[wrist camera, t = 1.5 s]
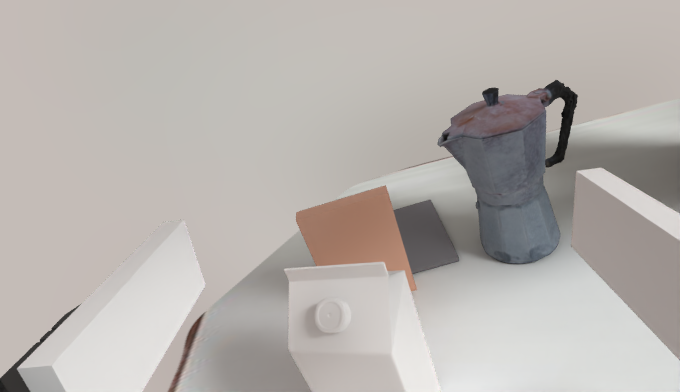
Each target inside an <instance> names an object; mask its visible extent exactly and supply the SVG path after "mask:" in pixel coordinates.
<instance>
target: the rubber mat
mask: <svg viewBox="0 0 680 392" xmlns="http://www.w3.org/2000/svg"><path fill="white" fill-rule="evenodd" d="M393 211H394V215H395V218H396V221H397V225H398V228H399V231H400V235H401V238H402V242H403V245H404V248H405V252H406V255H407V258H408V262H409V265H410V268H411V272H412V274H413V273H417V272H421V271H424V270H428V269H431V268H435V267H439V266H442V265H446V264H450V263H453V262H457V261H459V258H458V255H457V253H456V251H455V249H454V247H453V245H452V243H451V241H450V239H449V237H448V235H447V233H446V231H445V229H444V227H443V225H442V222H441V220H440V218H439V216H438V214H437V212H436V210H435V208H434V206H433V204H432V202H431V200H427V201H424V202H420V203H417V204H413V205H410V206H407V207H403V208H400V209H396V210H393Z"/></svg>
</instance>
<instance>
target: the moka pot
mask: <svg viewBox="0 0 680 392" xmlns="http://www.w3.org/2000/svg"><path fill="white" fill-rule="evenodd" d="M482 95H483V97H484V99H485V100H484V101H480V102H476V103H473V104H471V105H470V106H468V107H467V108H466V109H464V110H463V111H461V112H460V113H458V114H457V115H455V116H454V117H452V118H451V126H450V127H449V128H448V129H447V130H445V131H444V132H443V133H442V136H441V137H440V138H439V140H438V145H439V146H440V147H441V146H444V147H445V148H446V149H447V150H448V151H449V152H450V153H451V154H452V155H453V156H454V158H455V159H456V160H457V161H458V162H459V163H460V164H461V165H462V166H463V167H464V168H465V169H466V171H467V174H468V176H469V179H470V181H471V183H472V186H473V187H474V188H475V190H476V194H477V202H476V208H477V209H478V213H479V225H480V237H481V241H482V245H483V247H484V250H485V251H486V253H487V254H488V255H490V256H491V257H493V258H495V259H497V260H500V261H502V262H506V263H529V262H533V261H537V260H539V259H541V258H543V257H545V256H547V255H549V254H550V253H551V252H552V251H553V250H554V249H555V248H556V247H557V245H558V242H559V239H560V231H559V228H558V225H557V222H556V219H555V216H554V213H553V210H552V207H551V204H550V200H549V198H548V195H547V192H546V189H545V187H544V185H543V174H544V173H545V165H546V167H551V166H553V165H554V164H557V163H559V162H562V160H564V155H565V151H566V148H567V144H568V138H569V135H570V130H571V125H572V121H573V114H574V110H575V108H576V104H577V97H578V96H577V94H575V93H574V92H573V91H571V90H570V88H569V87H565V86H564V84H563V83H560V82H559V81H558V80H555V81H554V82H552V83H551V84H549V85H547V86H546V87H545V88H544V89H537V90H534V91H532V92H530V93H529V94H528V95H509V94H507V95H503V96H499V97H498V88H489V89H487V90H485V91H483V93H482ZM559 97H561V98H562V99H563V100H564V101H565V107H564V109H563V112H562V113H561V114H562V117H563V118H562V123H561V130H560V136H559V142H558V147H557V150H556V152H555V154H554V155H553V156H552V157H551V158H548V159H546V160H545V144H546V110H545V107H547V106H549V105H550V104H551V103H552V102H553V101H554V100H555V99H557V98H559Z"/></svg>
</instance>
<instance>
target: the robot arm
mask: <svg viewBox="0 0 680 392" xmlns="http://www.w3.org/2000/svg"><path fill="white" fill-rule="evenodd" d="M571 247H572V248H573V249H574V250H575V251H576V252H577V253H578V254H579V255H580V256H581V257H582V258H583V259H584V260H585V261H586V262H587V264H588V265H589V266H590V267H591V268H592V269H593V270H594V271H595V272H596V273H597V274H598V275H599V276H600V277H601V278H602V279H603V280H604V281H605V282H606V283H607V285H608V286H609V287H610V288H611V289H612V290H613V291H614V292H615V293H616V294H617V295H618V296H619V297H620V298H621V299H622V300H623V301H624V302H625V303H626V304H627V305H628V307H629V308H630V309H631V310H632V311H633V312H634V313H635V314H636V315H637V316H638V317H639V318H640V319H641V320H642V321H643V322H644V323H645V324H646V325H647V326H648V328H649V329H650V330H651V331H652V332H653V333H654V334H655V335H656V336H657V337H658V338H659V339H660V340H661V341H662V342H663V343H664V344H665V345H666V346H667V347H668V348H669V350H670V351H671V352H672V353H673V354H674V355H675V356H676V357H677V358H678V359H679V360H680V214H679V213H678V212H676V211H674V210H672V209H671V208H669V207H667V206H666V205H664V204H662V203H661V202H659V201H657V200H656V199H654V198H652V197H650V196H649V195H647V194H645V193H644V192H642V191H640V190H639V189H637V188H635V187H634V186H632V185H630V184H628V183H627V182H625V181H623V180H622V179H620V178H618V177H617V176H615V175H613V174H611V173H610V172H608V171H606V170H605V169H603V168H594V169H586V170H578V171H576V179H575V194H574V209H573V223H572V238H571ZM205 286H206V284H205V281H204V278H203V275H202V272H201V269H200V266H199V263H198V260H197V257H196V254H195V251H194V248H193V245H192V242H191V239H190V236H189V233H188V230H187V227H186V224H185V221H184V220H177V221H170V222H163V223H162V224H161V225H160V226H159V227H158V228H157V229H156V230H155V231H154V232H153V233H152V234H151V235H150V236H149V237H148V238H147V239H146V240H145V241H144V242H143V243H142V244H141V245H140V246H139V247H138V248H137V249H136V250H135V251H134V252H133V253H132V254H131V255H130V256H129V257H128V258H127V259H126V260H125V261H124V262H123V263H122V264H121V265H120V266H119V267H118V268H117V269H116V270H115V271H114V272H113V273H112V274H111V275H110V276H109V277H108V278H107V279H106V280H105V281H104V282H103V283H102V284H101V285H100V286H99V287H98V288H97V289H96V290H95V291H94V292H93V293H92V294H91V295H90V296H89V297H88V298H87V299H86V300H85V301H84V302H83V303H82V304H80V305H79V306H77V307H76V308H74V309H73V310H71V311H70V312H68V313H67V314H66V315H64V316H63V317H62V318H61V319H60V320H59V321H58V322H57V323H56V324H55V325H54V326H53V327H52V330H51V331H48V332H47V333H46V334H45V335H44V336H43V337H42V338H41V339H40V342H38V343H36V344H35V345H34V346H33V347H32V348H31V349H30V350H29V351H28V352H27V353H26V354H25V355H24V356H23V357H22V358H21V359H20V360H19V361H18V362H17V363H15V364H14V366H12V368H10V369H9V370H8V371H7V372H6V373H5V374H4V375H3V376H2V377H1V378H0V392H143V390H144V388H145V387H146V385H147V383H148V381H149V380H150V378H151V376H152V375H153V373H154V371H155V370H156V368H157V366H158V365H159V363H160V361H161V360H162V358H163V356H164V355H165V353H166V351H167V349H168V348H169V346H170V344H171V343H172V341H173V339H174V338H175V336H176V334H177V333H178V331H179V329H180V328H181V326H182V324H183V322H184V321H185V319H186V318H187V316H188V314H189V312H190V311H191V309H192V307H193V306H194V304H195V302H196V301H197V299H198V297H199V296H200V294H201V292H202V291H203V289H204V287H205Z"/></svg>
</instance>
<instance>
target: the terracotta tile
mask: <svg viewBox="0 0 680 392" xmlns="http://www.w3.org/2000/svg"><path fill="white" fill-rule="evenodd" d="M296 222H297V224H298V226H299V228H300V231H301V233H302V235H303V237H304V239H305V242H306V244H307V246H308V248H309V251H310V253H311V255H312V257H313V260H314V262H315V264H316V266H328V265H342V264H357V263H371V262H384V263H385V266H386V269H387V271H399V270H405V274H406V277H407V280H408V284H409V287H410V290H411V291H414V290H417V289H416V285H415V282H414V279H413V275H412V272H411V268H410V265H409V262H408V258H407V255H406V252H405V248H404V245H403V242H402V238H401V235H400V231H399V228H398V225H397V221H396V218H395V215H394V211H393V208H392V204H391V201H390V198H389V194H388V191H387V188H386V186H381V187H378V188H375V189H371V190H368V191H365V192H361V193H358V194H355V195H351V196H348V197H345V198H342V199H338V200H335V201H332V202H329V203H325V204H322V205H319V206H315V207H312V208H308V209H305V210H302V211H299V212H297V213H296Z"/></svg>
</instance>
